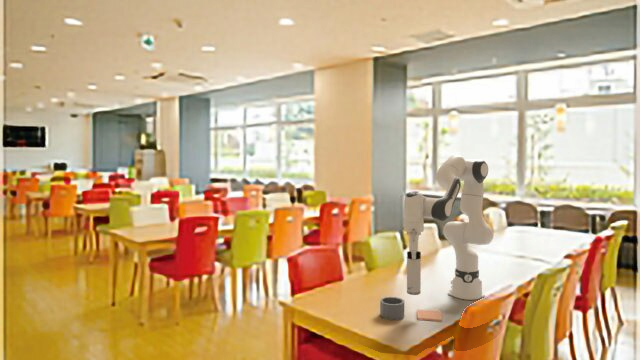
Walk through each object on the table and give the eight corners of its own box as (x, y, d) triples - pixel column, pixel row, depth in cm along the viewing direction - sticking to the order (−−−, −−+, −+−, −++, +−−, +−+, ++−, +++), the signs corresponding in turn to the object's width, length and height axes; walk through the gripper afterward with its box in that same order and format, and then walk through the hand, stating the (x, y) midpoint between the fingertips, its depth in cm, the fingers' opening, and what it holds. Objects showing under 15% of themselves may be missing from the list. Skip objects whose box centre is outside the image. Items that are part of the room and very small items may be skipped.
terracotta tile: (417, 311, 220) (417, 309, 220) (441, 312, 218) (441, 311, 217) (417, 319, 209) (417, 317, 209) (442, 321, 207) (442, 319, 207)
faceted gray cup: (381, 310, 221) (381, 296, 220) (404, 312, 219) (404, 297, 218) (379, 318, 210) (379, 304, 210) (403, 320, 208) (404, 305, 207)
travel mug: (409, 295, 210) (409, 252, 208) (405, 290, 216) (405, 249, 215) (422, 295, 210) (422, 252, 209) (418, 290, 217) (418, 248, 215)
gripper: (420, 231, 200) (421, 262, 201) (420, 223, 220) (421, 251, 221) (406, 231, 201) (406, 262, 203) (407, 222, 221) (407, 251, 222)
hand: (414, 256), depth 212 cm, fingers closed on travel mug, 6 cm apart
